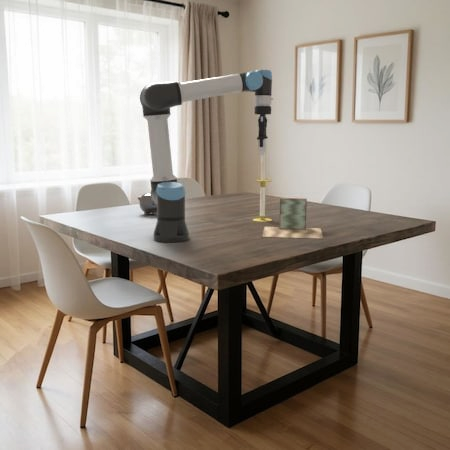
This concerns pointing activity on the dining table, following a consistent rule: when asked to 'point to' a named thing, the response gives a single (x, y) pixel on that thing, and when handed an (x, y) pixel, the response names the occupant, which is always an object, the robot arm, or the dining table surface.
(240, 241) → the dining table surface
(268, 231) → the light wooden board
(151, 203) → the piggy bank
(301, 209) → the panel
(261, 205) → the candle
